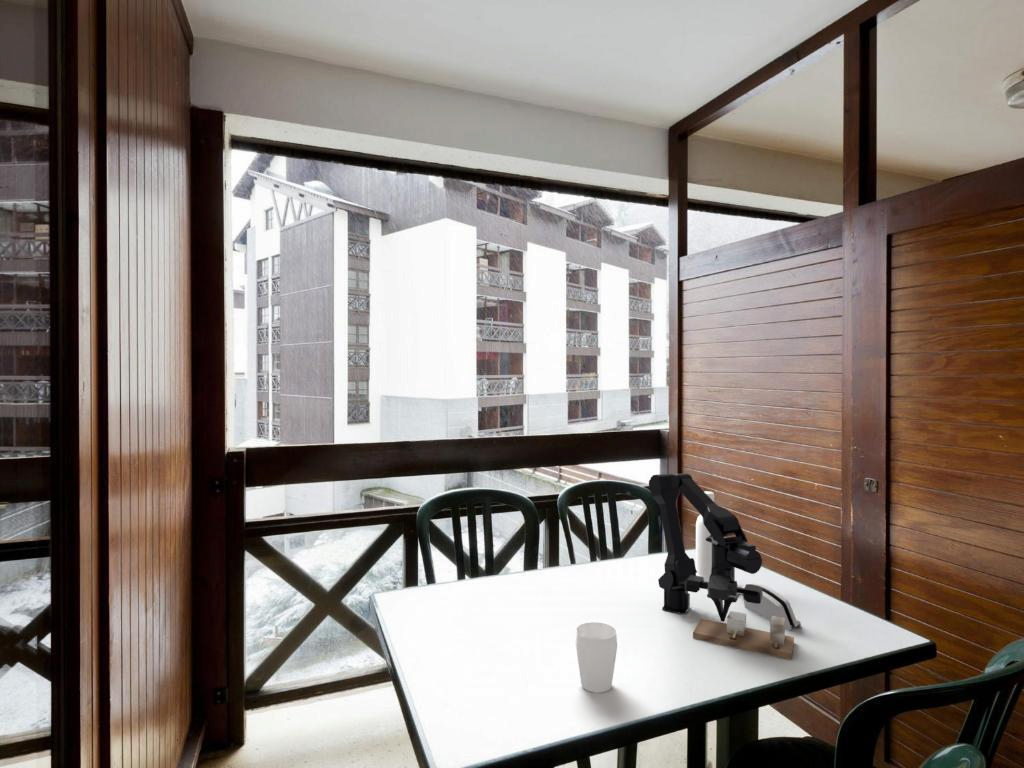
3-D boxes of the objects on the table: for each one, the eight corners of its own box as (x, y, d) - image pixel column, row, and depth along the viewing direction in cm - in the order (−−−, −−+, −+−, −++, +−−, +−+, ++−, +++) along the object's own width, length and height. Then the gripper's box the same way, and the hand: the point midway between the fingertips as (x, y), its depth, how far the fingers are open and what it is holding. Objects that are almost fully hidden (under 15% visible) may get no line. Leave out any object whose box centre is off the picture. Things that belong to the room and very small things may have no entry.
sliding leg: (725, 636, 145) (725, 621, 145) (730, 625, 151) (730, 610, 151) (742, 640, 143) (742, 624, 143) (746, 629, 149) (746, 613, 149)
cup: (572, 675, 129) (572, 622, 129) (611, 673, 130) (611, 621, 130) (580, 697, 120) (580, 640, 120) (622, 695, 121) (622, 639, 121)
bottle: (719, 579, 191) (719, 490, 191) (722, 587, 183) (722, 495, 183) (694, 577, 193) (694, 489, 193) (696, 585, 185) (696, 494, 185)
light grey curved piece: (803, 628, 154) (793, 595, 153) (790, 636, 152) (780, 603, 151) (758, 604, 170) (749, 574, 168) (745, 612, 168) (736, 581, 167)
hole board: (692, 638, 148) (693, 613, 148) (700, 623, 156) (700, 600, 156) (791, 659, 136) (791, 632, 136) (793, 643, 145) (794, 617, 145)
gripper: (679, 564, 147) (679, 624, 147) (757, 577, 138) (757, 641, 138) (689, 553, 157) (689, 610, 157) (762, 564, 148) (762, 624, 148)
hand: (722, 621), depth 150 cm, fingers closed
